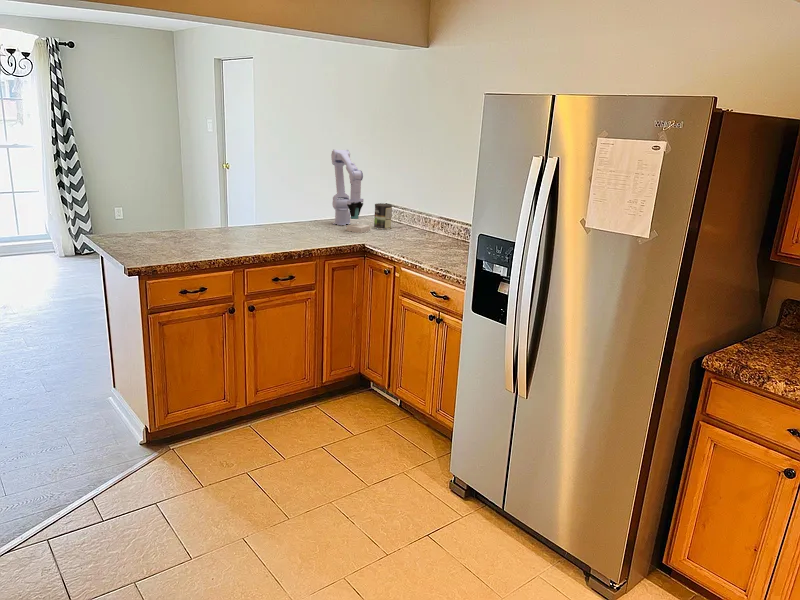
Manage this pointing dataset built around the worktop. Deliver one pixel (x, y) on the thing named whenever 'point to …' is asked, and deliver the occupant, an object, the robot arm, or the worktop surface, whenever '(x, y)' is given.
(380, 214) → the coffee can
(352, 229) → the plinth
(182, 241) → the worktop surface
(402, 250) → the worktop surface
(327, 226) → the worktop surface
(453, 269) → the worktop surface
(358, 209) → the teal cylinder
